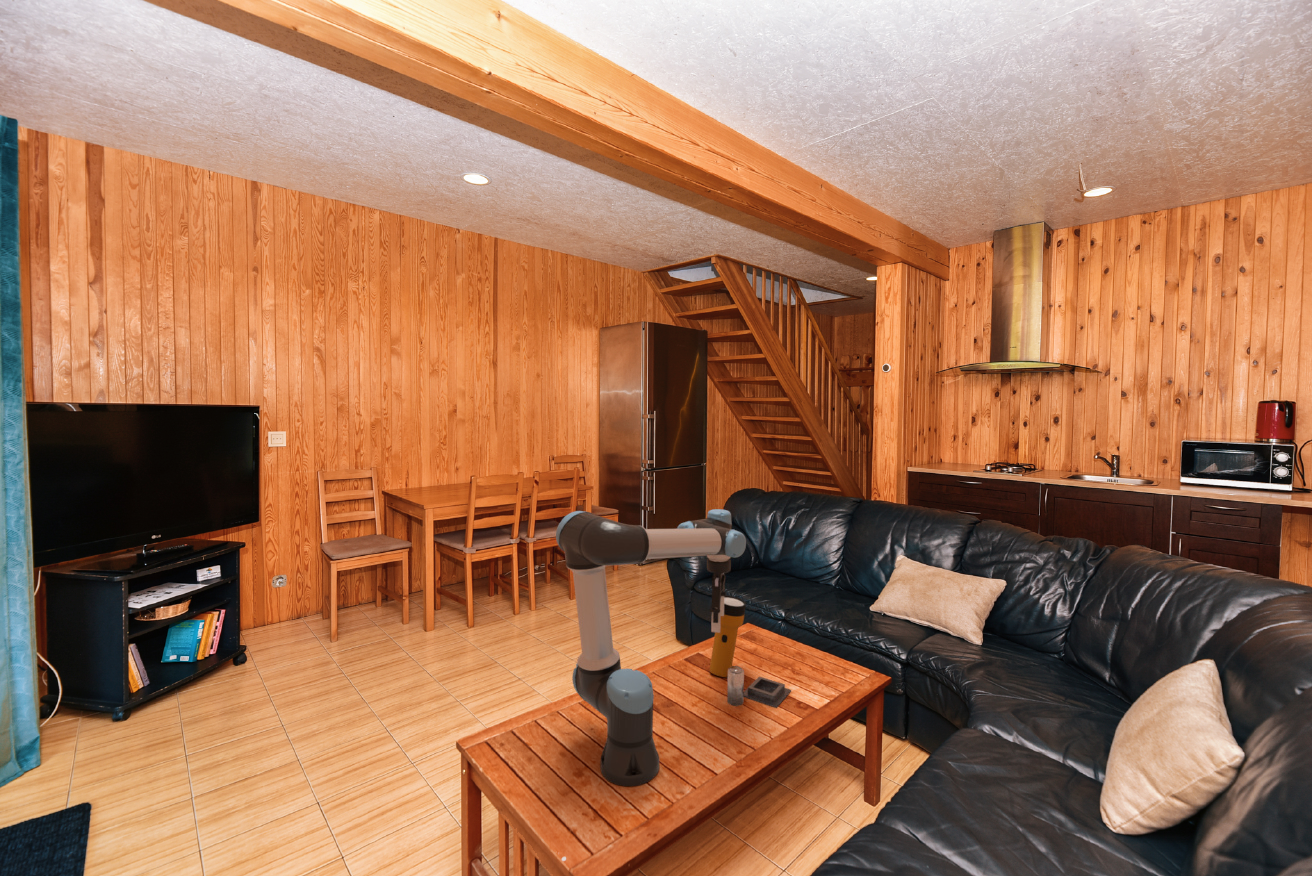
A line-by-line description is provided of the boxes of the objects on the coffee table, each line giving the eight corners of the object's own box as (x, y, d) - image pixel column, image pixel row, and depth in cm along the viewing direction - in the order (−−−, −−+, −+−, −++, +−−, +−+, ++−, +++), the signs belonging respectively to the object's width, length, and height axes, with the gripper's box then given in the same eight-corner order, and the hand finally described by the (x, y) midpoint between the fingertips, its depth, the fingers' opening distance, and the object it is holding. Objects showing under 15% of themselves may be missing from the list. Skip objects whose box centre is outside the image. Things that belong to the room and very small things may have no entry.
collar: (776, 708, 173) (776, 699, 173) (741, 696, 180) (741, 688, 179) (791, 691, 183) (791, 683, 182) (756, 680, 189) (757, 673, 189)
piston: (739, 707, 173) (739, 674, 172) (724, 702, 176) (725, 669, 175) (746, 700, 177) (746, 668, 176) (731, 695, 180) (732, 663, 179)
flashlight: (748, 598, 196) (744, 608, 186) (736, 669, 198) (732, 682, 189) (720, 591, 199) (714, 601, 189) (709, 661, 201) (703, 674, 191)
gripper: (727, 570, 166) (726, 640, 168) (733, 549, 190) (732, 610, 192) (702, 569, 168) (701, 638, 169) (711, 547, 192) (710, 608, 193)
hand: (717, 623), depth 181 cm, fingers open, 13 cm apart
